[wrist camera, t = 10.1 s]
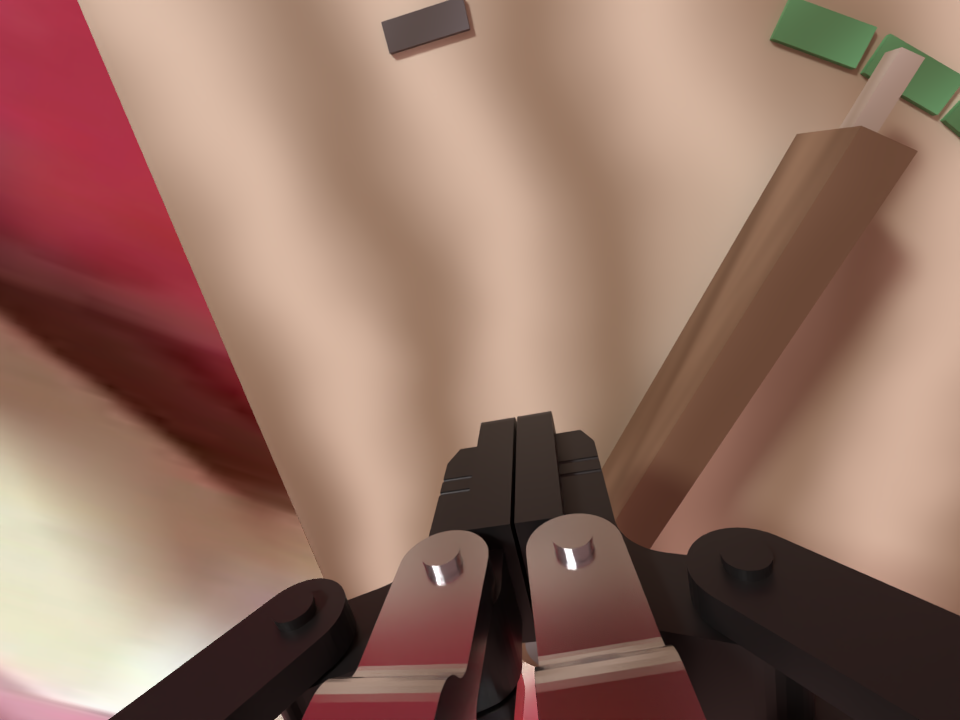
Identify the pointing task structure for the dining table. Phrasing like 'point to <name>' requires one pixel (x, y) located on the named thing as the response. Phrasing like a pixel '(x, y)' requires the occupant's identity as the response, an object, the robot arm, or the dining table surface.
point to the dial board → (554, 247)
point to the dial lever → (756, 304)
